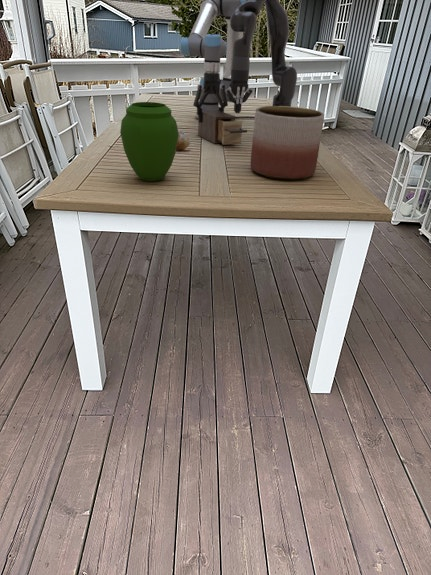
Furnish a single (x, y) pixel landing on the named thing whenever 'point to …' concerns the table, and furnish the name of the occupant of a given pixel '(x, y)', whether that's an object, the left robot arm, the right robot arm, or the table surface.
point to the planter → (286, 142)
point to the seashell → (182, 141)
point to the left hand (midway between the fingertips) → (210, 121)
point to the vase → (149, 139)
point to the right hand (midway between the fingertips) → (237, 112)
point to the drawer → (229, 131)
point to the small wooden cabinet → (211, 124)
